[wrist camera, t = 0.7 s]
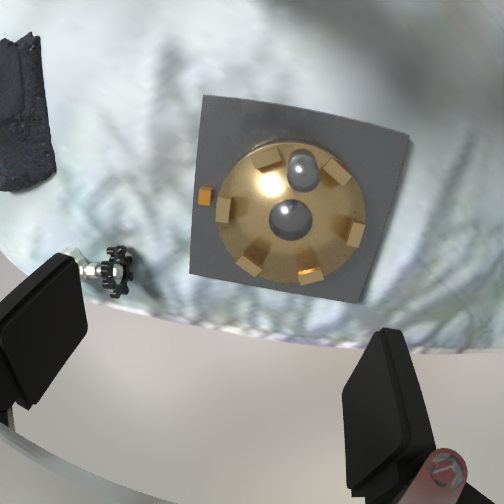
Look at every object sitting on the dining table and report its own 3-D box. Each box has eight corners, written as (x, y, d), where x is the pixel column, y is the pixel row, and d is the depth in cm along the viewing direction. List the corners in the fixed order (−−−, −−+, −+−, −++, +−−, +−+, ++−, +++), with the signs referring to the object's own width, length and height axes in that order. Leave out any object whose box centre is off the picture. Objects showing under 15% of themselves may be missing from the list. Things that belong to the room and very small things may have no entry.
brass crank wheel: (340, 280, 35) (348, 324, 28) (215, 257, 35) (197, 297, 29) (375, 157, 28) (398, 178, 21) (229, 129, 28) (210, 141, 22)
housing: (207, 94, 29) (200, 95, 26) (404, 133, 28) (413, 137, 26) (193, 266, 39) (186, 278, 36) (354, 295, 38) (357, 308, 35)
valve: (71, 276, 43) (138, 279, 41) (48, 301, 37) (116, 309, 35) (58, 236, 39) (126, 235, 38) (31, 259, 34) (100, 261, 32)
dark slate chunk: (1, 192, 38) (-19, 204, 34) (-20, 65, 28) (-42, 68, 23) (64, 176, 35) (41, 188, 31) (42, 22, 25) (18, 20, 21)
